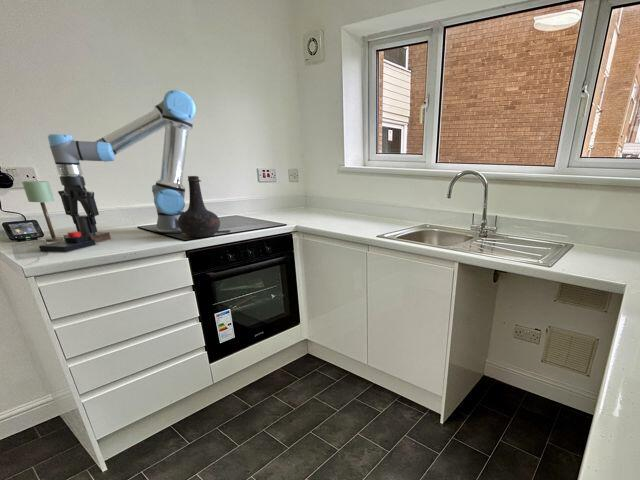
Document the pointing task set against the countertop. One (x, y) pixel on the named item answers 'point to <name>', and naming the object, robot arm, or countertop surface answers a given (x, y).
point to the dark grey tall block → (83, 225)
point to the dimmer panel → (98, 236)
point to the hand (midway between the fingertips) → (87, 231)
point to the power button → (74, 234)
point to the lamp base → (68, 244)
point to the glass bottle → (197, 214)
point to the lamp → (41, 201)
